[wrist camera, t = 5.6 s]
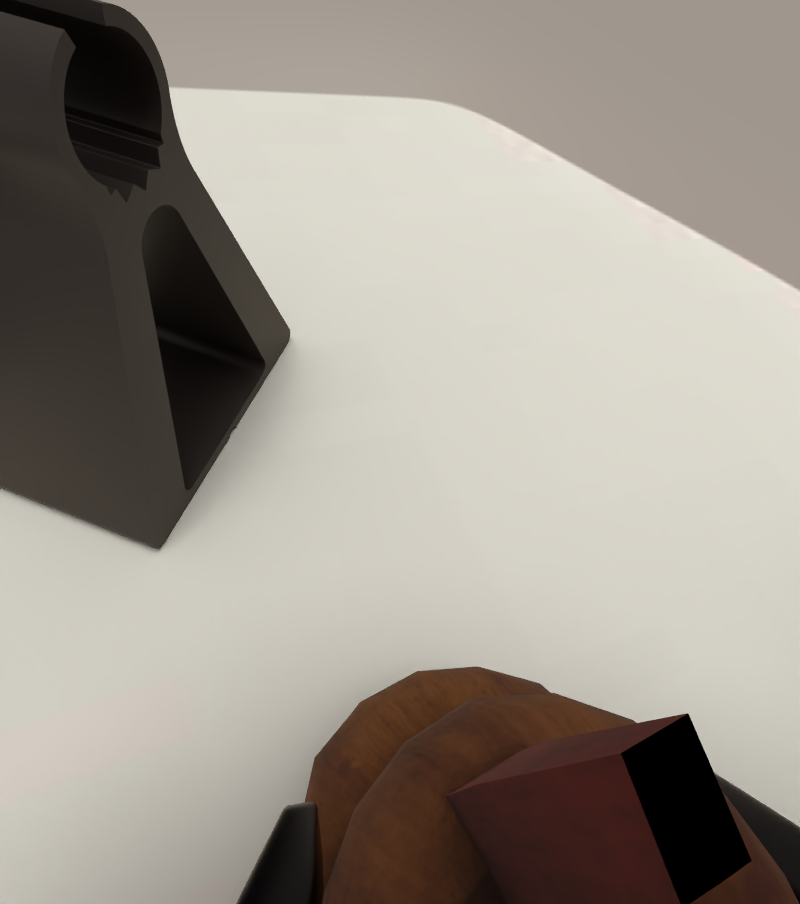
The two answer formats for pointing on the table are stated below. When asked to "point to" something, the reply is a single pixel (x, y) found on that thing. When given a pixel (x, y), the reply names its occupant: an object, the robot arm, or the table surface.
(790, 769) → the table surface
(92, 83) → the phone stand
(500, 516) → the table surface
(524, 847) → the wooden figurine
